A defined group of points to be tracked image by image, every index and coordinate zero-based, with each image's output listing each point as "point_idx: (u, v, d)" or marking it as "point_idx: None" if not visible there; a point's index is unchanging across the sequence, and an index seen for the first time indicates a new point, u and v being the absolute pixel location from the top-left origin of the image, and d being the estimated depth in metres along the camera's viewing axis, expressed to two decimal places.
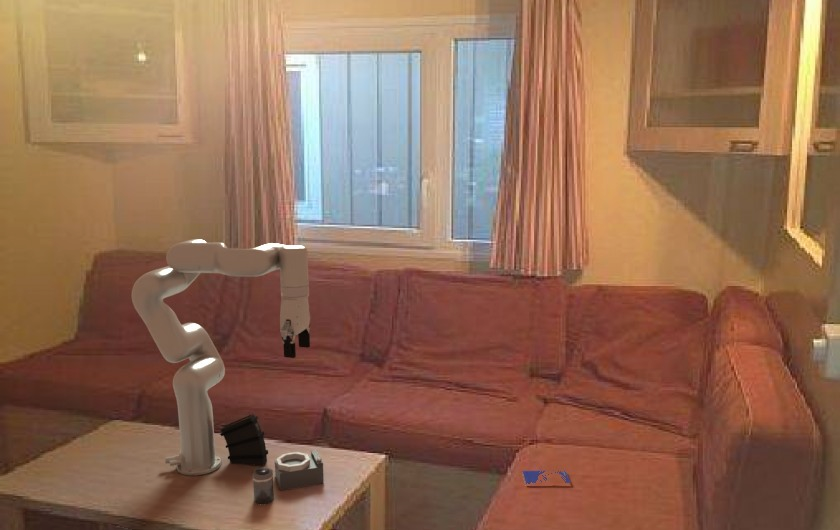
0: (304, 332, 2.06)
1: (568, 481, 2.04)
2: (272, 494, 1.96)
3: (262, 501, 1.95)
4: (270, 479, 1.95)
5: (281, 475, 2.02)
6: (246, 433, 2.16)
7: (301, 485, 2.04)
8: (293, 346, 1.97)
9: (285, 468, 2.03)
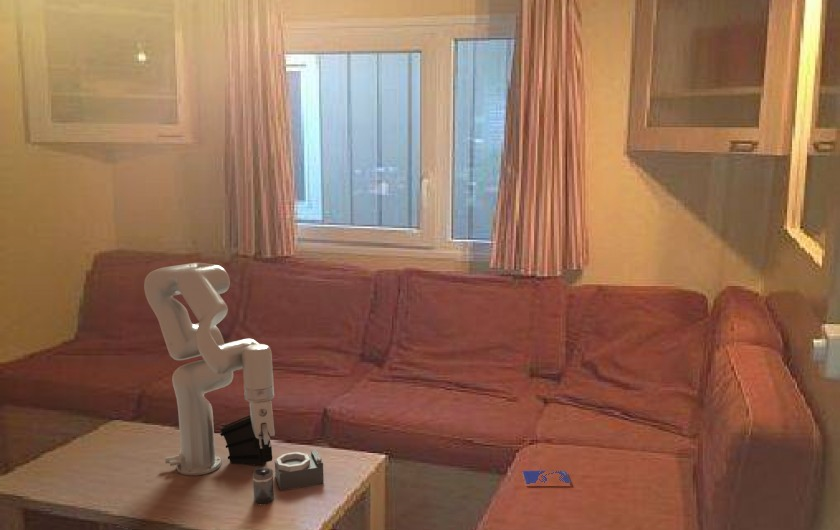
0: None
1: (568, 481, 2.04)
2: (272, 494, 1.96)
3: (262, 501, 1.95)
4: (270, 479, 1.95)
5: (281, 475, 2.02)
6: (246, 433, 2.16)
7: (301, 485, 2.04)
8: None
9: (285, 468, 2.03)
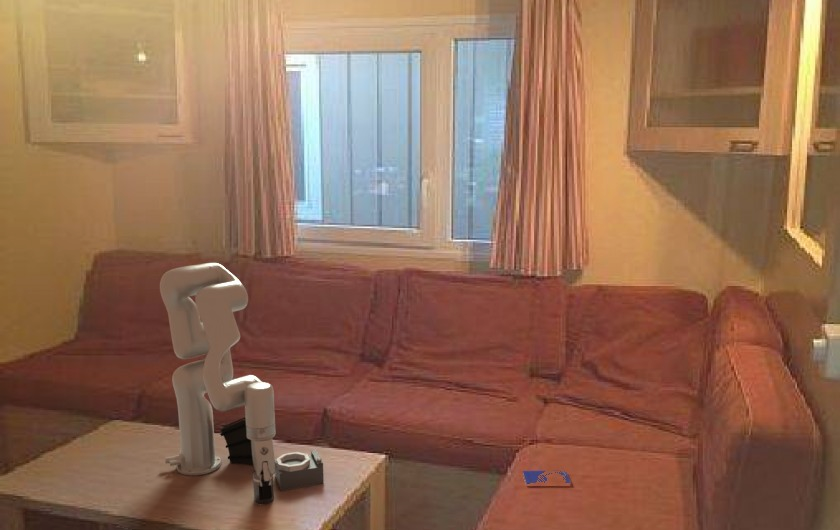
0: None
1: (568, 481, 2.04)
2: (272, 494, 1.96)
3: (262, 501, 1.95)
4: (270, 479, 1.95)
5: (281, 475, 2.02)
6: None
7: (301, 485, 2.04)
8: None
9: (285, 468, 2.03)
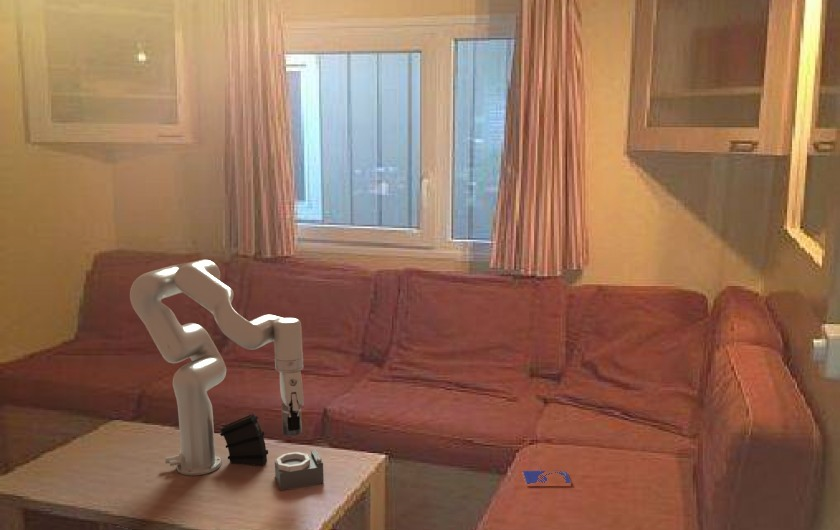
0: None
1: (569, 481, 2.04)
2: (300, 426, 2.04)
3: (291, 432, 2.03)
4: None
5: (281, 475, 2.02)
6: (246, 433, 2.16)
7: (301, 485, 2.04)
8: None
9: (285, 468, 2.03)
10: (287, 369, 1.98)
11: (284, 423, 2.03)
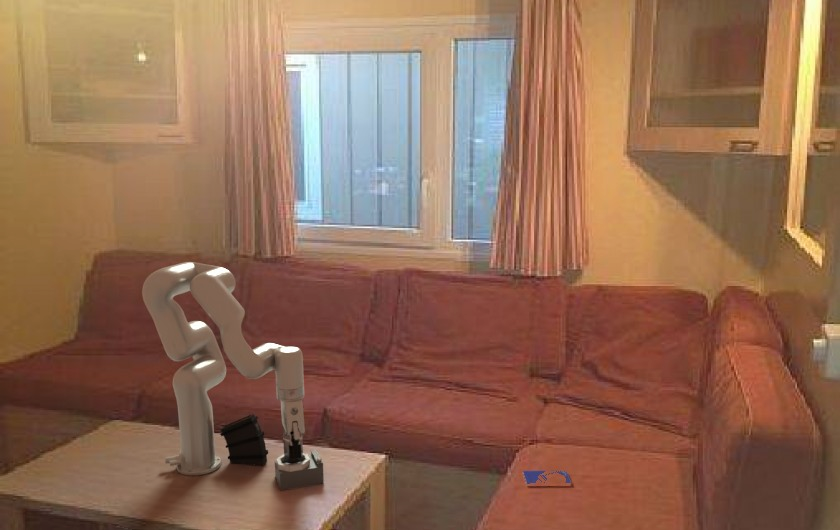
0: None
1: (569, 481, 2.04)
2: (301, 454, 2.06)
3: (292, 460, 2.04)
4: (300, 439, 2.04)
5: (281, 475, 2.02)
6: (246, 433, 2.16)
7: (301, 485, 2.04)
8: None
9: (285, 468, 2.03)
10: (288, 398, 2.00)
11: (285, 451, 2.04)
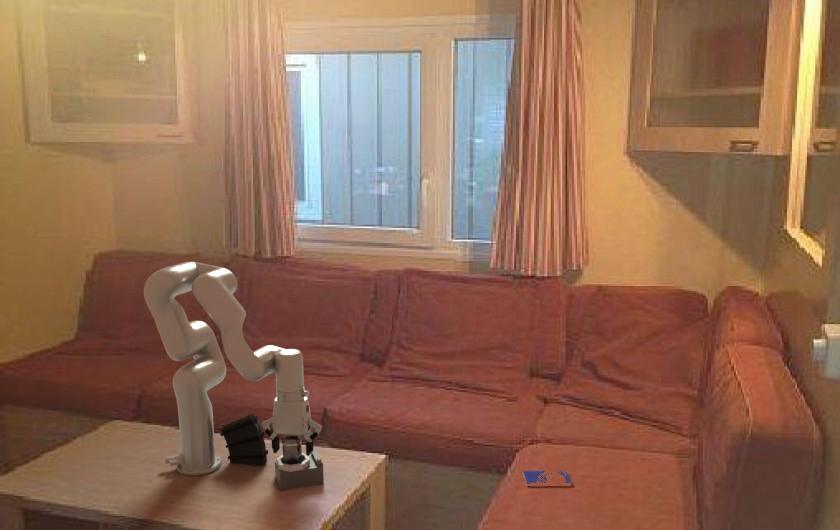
0: None
1: (569, 481, 2.04)
2: None
3: (300, 462, 2.06)
4: None
5: (281, 475, 2.02)
6: (246, 433, 2.16)
7: (301, 485, 2.04)
8: None
9: (285, 468, 2.03)
10: (301, 398, 2.02)
11: (293, 456, 2.04)
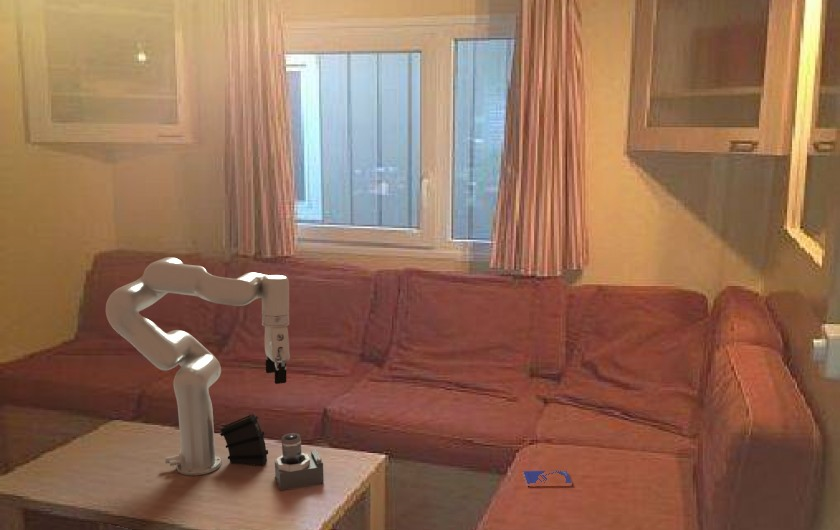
0: None
1: (569, 481, 2.04)
2: None
3: (300, 462, 2.06)
4: None
5: (281, 475, 2.02)
6: (246, 433, 2.16)
7: (301, 485, 2.04)
8: None
9: (285, 468, 2.03)
10: (275, 324, 2.03)
11: (293, 456, 2.04)
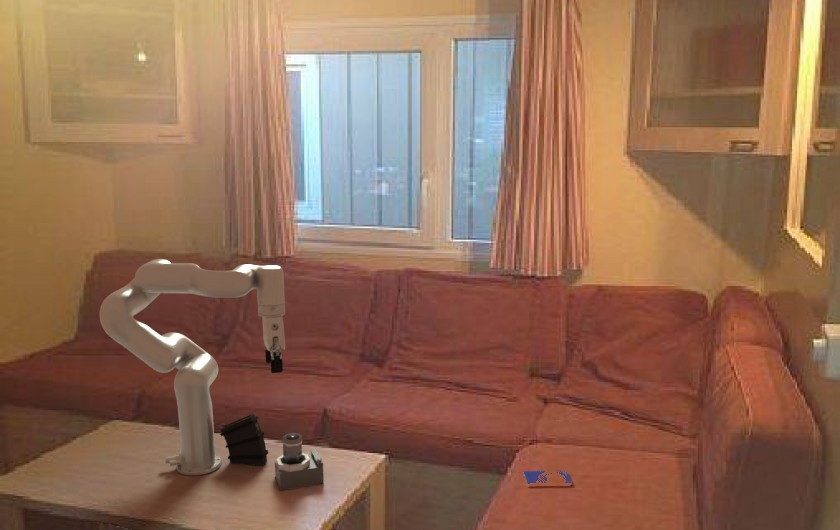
0: None
1: (569, 481, 2.04)
2: None
3: (300, 462, 2.06)
4: None
5: (281, 475, 2.02)
6: (246, 433, 2.16)
7: (301, 485, 2.04)
8: None
9: (285, 468, 2.03)
10: (269, 314, 2.05)
11: (294, 456, 2.04)
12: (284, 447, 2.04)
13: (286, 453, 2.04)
